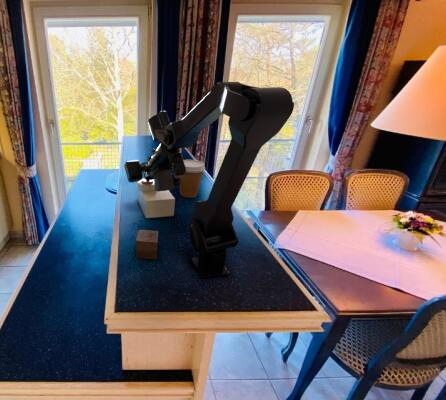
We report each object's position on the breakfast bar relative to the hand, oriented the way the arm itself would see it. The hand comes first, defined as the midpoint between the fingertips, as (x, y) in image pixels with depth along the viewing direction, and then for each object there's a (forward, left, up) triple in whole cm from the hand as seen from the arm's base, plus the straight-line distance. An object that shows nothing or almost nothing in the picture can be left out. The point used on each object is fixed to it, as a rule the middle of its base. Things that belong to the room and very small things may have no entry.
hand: (147, 179), depth 87 cm
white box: (-4, -2, -9) cm, 10 cm away
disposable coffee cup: (+5, -17, -9) cm, 20 cm away
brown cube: (-27, +6, -9) cm, 29 cm away
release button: (0, 0, -3) cm, 3 cm away
